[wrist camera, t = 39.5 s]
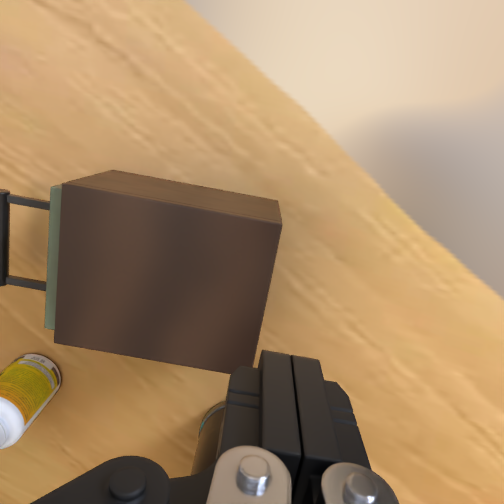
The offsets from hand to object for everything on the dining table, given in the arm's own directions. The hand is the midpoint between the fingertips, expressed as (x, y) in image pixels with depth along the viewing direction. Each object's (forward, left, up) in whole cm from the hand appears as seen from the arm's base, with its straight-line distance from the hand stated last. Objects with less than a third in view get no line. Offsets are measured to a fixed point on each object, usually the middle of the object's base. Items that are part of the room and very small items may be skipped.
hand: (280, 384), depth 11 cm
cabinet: (-6, +7, -29) cm, 30 cm away
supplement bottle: (-23, +21, -29) cm, 43 cm away
